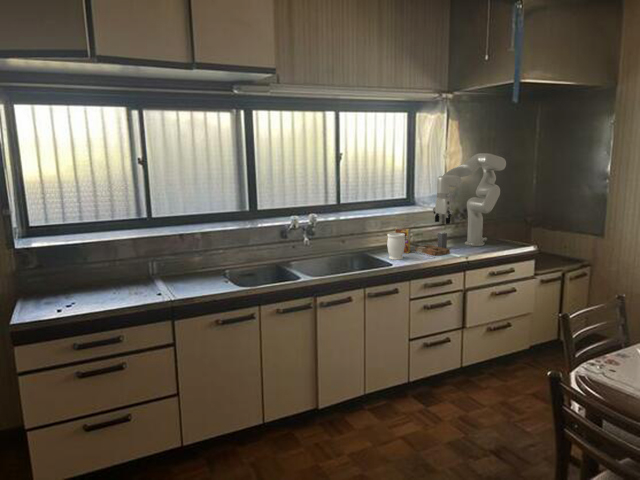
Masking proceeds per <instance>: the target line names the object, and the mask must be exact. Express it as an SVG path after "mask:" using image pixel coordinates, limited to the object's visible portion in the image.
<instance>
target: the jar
mask: <svg viewBox="0 0 640 480" xmlns="http://www.w3.org/2000/svg"><path fill="white" fill-rule="evenodd" d="M386 235H387V243H386V244H387V252H388V255H389V256H388V259H389V260H393V261H400V260H403V259H404V257H403V255H404V254H405V253H404V247H405V240H404V236H405V234H403V233H395V232H390V233H389V232H388V233H387V234H386Z"/></svg>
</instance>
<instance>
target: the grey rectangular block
mask: <svg viewBox="0 0 640 480" xmlns="http://www.w3.org/2000/svg"><path fill="white" fill-rule="evenodd" d="M447 242H448V233H447V232H444V231H440V232H438V233H437V247H442V248H446V249H447V248H448V246H447V245H448V243H447Z"/></svg>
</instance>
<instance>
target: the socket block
mask: <svg viewBox="0 0 640 480" xmlns="http://www.w3.org/2000/svg"><path fill="white" fill-rule="evenodd" d="M414 250H415V253H416V254H420V255H424V256H427V257H431V258H434V259H435V258H436V257H437V256H443V255H444V256H445V255H448V254H450V251H451V248H450V249H446V248H442V247H438V245H437V246H436V245H432V244H425V245H420V246H415V248H414Z"/></svg>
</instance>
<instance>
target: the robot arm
mask: <svg viewBox="0 0 640 480" xmlns="http://www.w3.org/2000/svg"><path fill="white" fill-rule="evenodd" d="M506 167H507V162H506V158H503V157H502V156H498V155H495V154H493V153H485V152H484V153H483V152H482V153H480V152H479V153H475V154H474V155H473V156H471V158H468V160H466V161H465V162H464V163H463V164H460V165H458V166H455V167H453V168H451V169H449V170H448V171H446V172H444V173H443V175H441V176H438V177H437V180H436V181H437V182H436V183H437V184H436V199H435V207H433V208H432V211H433V215H434V222H435V223H440V215H445V225H449V224H451V218H452V216H453V214H454V210H453V209H452V202H451V198H450V197H451V195H450V188H458V187H460V186H461V185H462V183H463V179H462V178H464V177H465V178H466V177H469V176H472V175H473V174H474V173H475V172H476V171H478V170H479V169H480V168H481V169H482V172H483V174H482V178H481V180H480V182H479V184H478V186H477V187H476V190H475V195H476V196H477V197H476V196H475V197H473V196H472V197H471V198H469V199H467V201H466V210H467V239H466V241H465V242H464V245H465V246H470V247H482V246H485V242H484V241H487V240H488V238H487V237H483V231H484V230H483V229H484V227H483V225H484V218H483V214H489V213H491V212H492V210H493V208H494V207H495V205H496V204H497V201H498V199H499V197H500V195H501V188H500V186H499V185H497V184H495V182H496V180H497V176H496V174H495V171H504V170H505V168H506Z"/></svg>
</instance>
